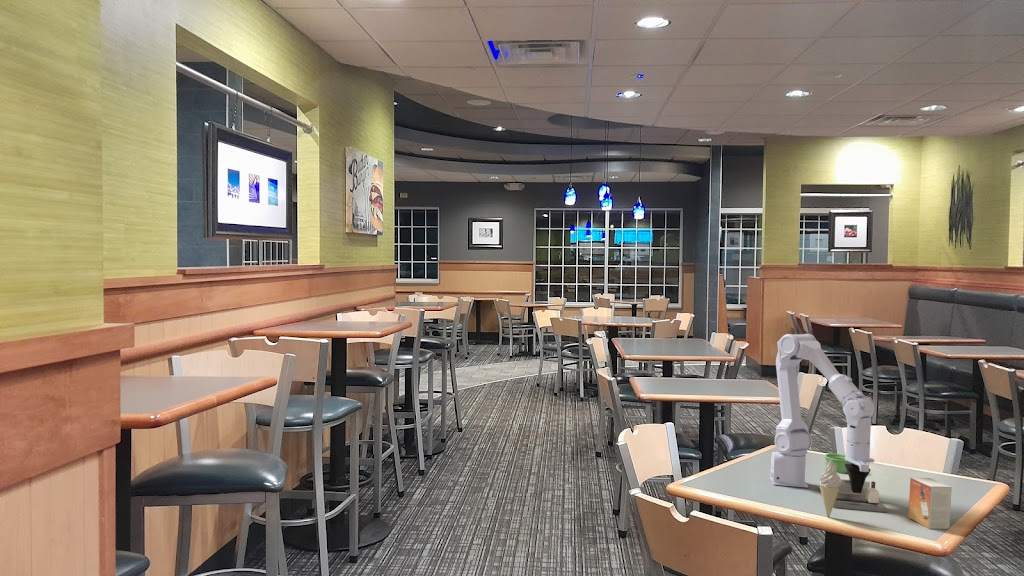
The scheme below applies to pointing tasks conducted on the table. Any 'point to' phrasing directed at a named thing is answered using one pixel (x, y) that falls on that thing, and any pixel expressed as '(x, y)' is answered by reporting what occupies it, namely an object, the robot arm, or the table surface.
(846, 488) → the door
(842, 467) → the ramekin
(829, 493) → the ice cream cone
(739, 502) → the table surface
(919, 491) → the small box
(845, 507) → the console plate
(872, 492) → the fader knob
